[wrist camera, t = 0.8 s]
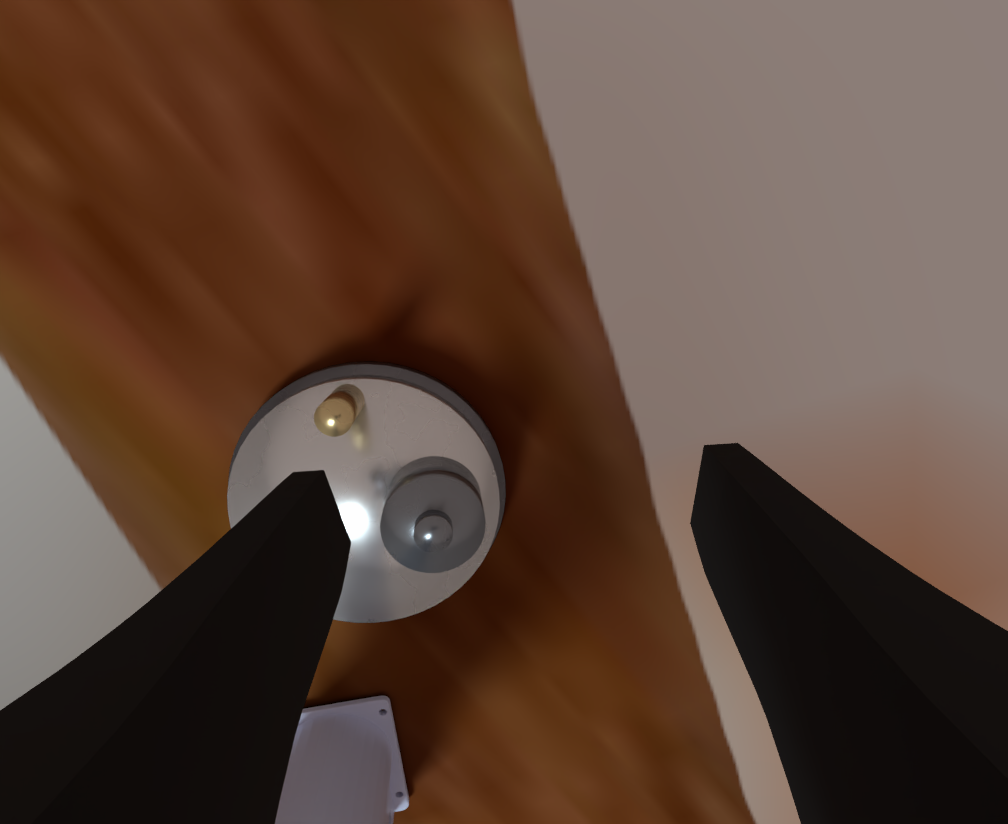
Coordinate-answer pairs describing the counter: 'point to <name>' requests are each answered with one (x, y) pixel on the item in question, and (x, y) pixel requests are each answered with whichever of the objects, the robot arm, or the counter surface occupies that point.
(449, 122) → the counter surface
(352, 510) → the turntable
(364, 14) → the counter surface
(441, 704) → the counter surface
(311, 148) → the counter surface
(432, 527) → the lid
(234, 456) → the turntable base
